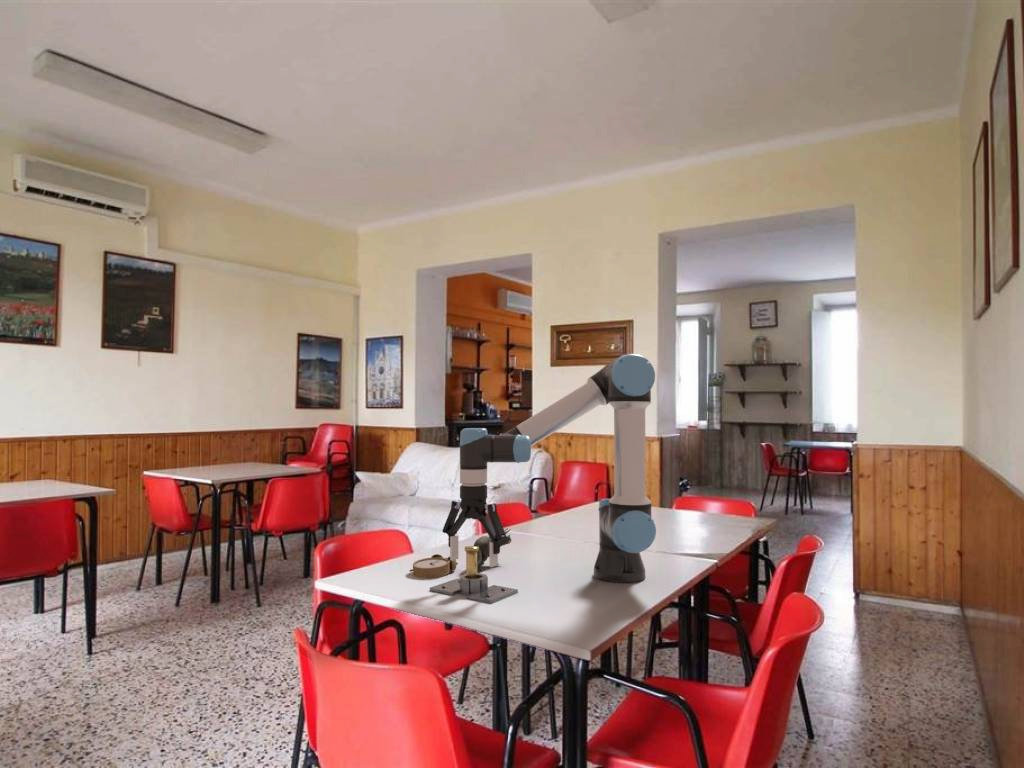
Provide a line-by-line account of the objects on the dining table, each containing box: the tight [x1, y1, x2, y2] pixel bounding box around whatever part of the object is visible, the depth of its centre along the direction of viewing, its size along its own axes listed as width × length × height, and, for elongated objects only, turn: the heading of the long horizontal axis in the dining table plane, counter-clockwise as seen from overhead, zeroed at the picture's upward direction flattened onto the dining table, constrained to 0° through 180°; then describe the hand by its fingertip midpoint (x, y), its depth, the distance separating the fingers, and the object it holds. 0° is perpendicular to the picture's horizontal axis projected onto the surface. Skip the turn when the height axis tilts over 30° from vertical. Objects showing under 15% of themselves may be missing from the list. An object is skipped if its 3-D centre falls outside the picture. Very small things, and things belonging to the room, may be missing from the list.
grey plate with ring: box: [429, 572, 519, 604], centre depth 172 cm, size 12×21×4 cm, turn 55°
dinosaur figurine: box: [473, 527, 512, 573], centre depth 199 cm, size 22×8×11 cm, turn 148°
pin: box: [464, 545, 479, 579], centre depth 173 cm, size 4×4×12 cm
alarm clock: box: [409, 553, 459, 579], centre depth 194 cm, size 11×5×15 cm
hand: (473, 562), depth 172 cm, fingers open, 13 cm apart
